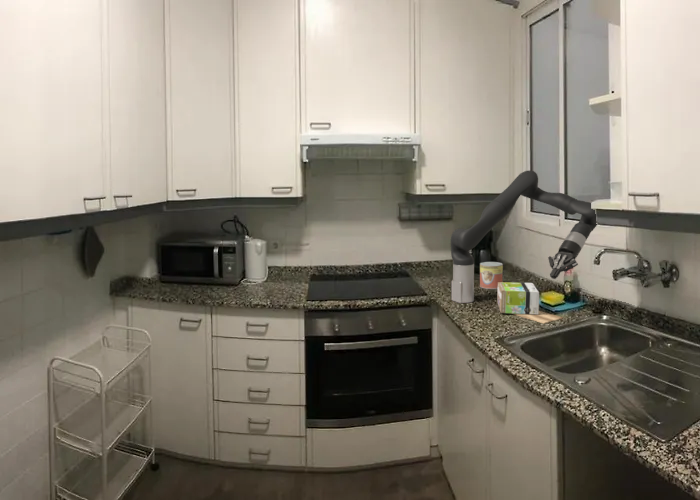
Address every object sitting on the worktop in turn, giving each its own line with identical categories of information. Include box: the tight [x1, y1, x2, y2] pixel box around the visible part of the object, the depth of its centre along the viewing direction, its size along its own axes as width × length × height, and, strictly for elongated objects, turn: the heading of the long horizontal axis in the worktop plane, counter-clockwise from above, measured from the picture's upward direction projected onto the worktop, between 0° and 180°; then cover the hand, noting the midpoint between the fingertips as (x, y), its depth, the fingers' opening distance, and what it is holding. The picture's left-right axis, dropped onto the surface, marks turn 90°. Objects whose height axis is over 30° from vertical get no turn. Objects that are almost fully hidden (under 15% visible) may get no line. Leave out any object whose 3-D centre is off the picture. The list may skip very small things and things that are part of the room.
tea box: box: [496, 281, 540, 315], centre depth 180 cm, size 15×10×15 cm
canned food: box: [479, 261, 504, 290], centre depth 222 cm, size 11×11×12 cm
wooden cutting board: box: [510, 310, 564, 324], centre depth 174 cm, size 11×20×1 cm, turn 28°
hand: (552, 277), depth 177 cm, fingers closed
